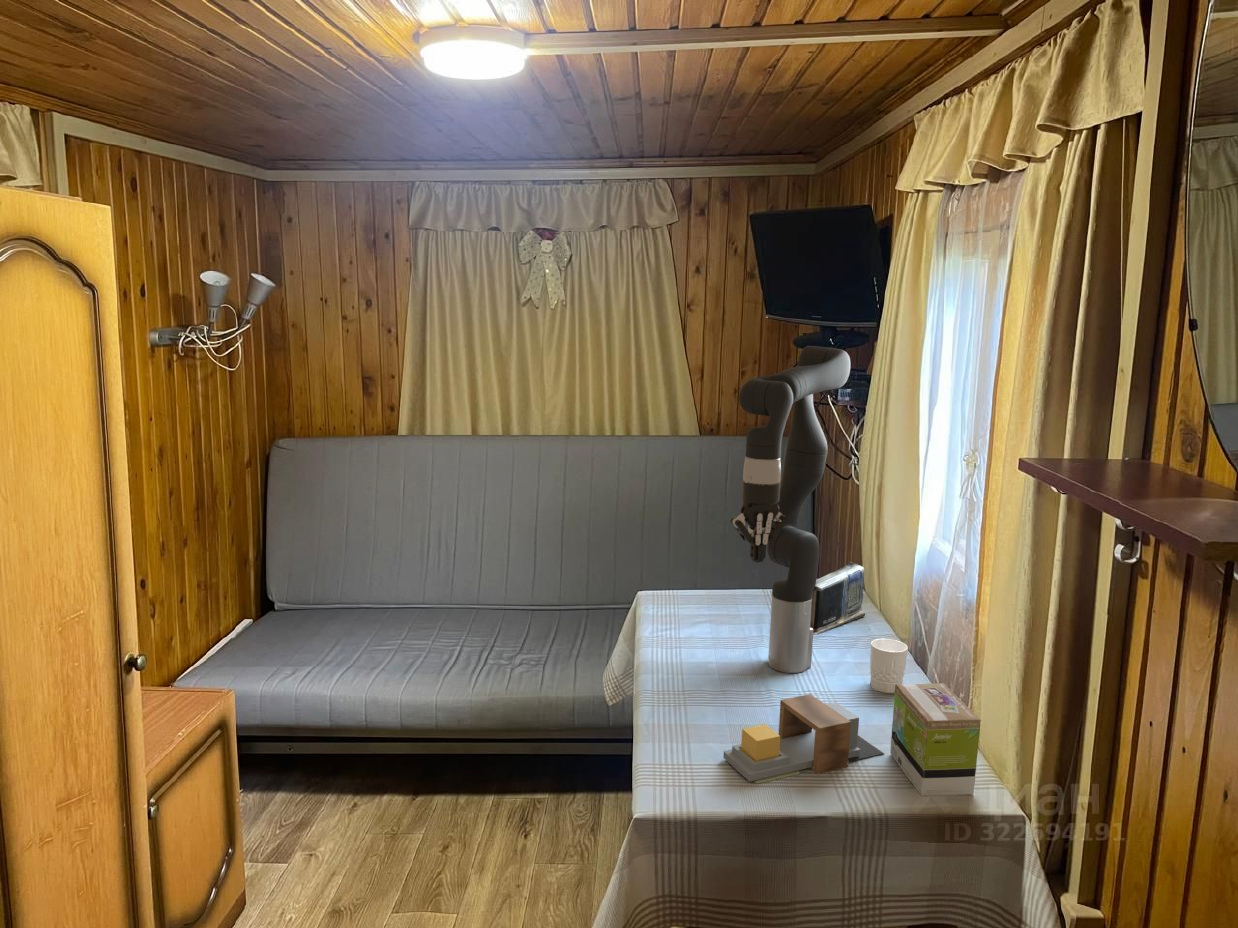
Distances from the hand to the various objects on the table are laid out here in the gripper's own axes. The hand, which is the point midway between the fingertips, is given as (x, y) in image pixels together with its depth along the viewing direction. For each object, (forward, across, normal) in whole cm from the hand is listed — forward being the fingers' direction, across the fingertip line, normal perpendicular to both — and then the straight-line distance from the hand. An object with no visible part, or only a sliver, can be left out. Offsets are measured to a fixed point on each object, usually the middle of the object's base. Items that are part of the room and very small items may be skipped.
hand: (757, 561), depth 182 cm
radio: (+32, -48, -34) cm, 68 cm away
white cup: (+32, -34, +3) cm, 47 cm away
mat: (+32, +11, +22) cm, 40 cm away
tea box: (+32, -16, +36) cm, 51 cm away
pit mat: (+32, -9, +22) cm, 40 cm away
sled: (+32, +5, +22) cm, 39 cm away
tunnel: (+32, 0, +22) cm, 39 cm away
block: (+30, +12, +22) cm, 39 cm away
